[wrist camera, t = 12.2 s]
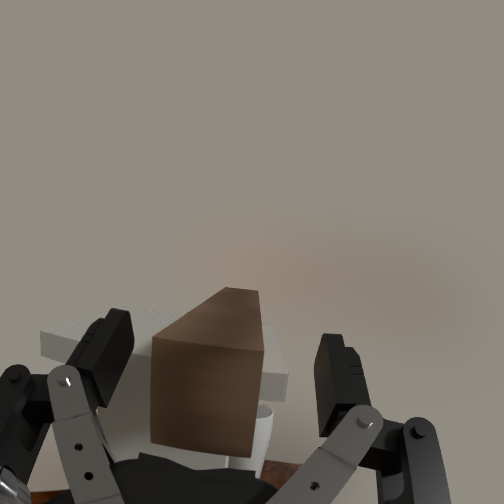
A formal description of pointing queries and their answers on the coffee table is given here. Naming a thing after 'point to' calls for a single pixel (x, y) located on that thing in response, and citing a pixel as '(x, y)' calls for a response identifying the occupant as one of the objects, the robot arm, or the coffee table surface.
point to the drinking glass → (257, 442)
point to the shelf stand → (138, 386)
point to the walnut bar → (209, 376)
